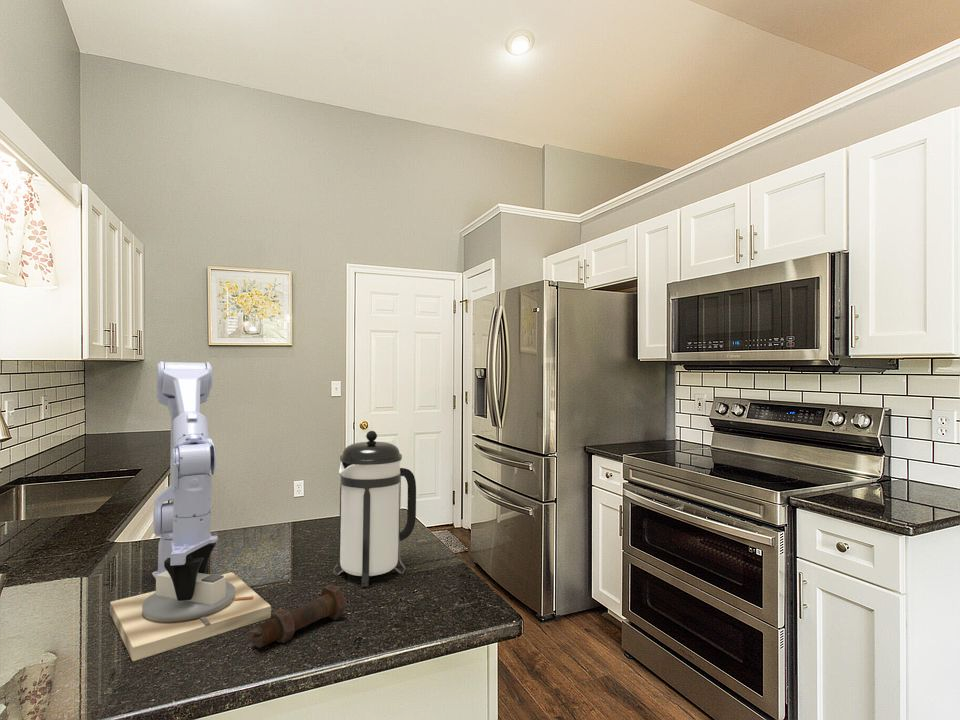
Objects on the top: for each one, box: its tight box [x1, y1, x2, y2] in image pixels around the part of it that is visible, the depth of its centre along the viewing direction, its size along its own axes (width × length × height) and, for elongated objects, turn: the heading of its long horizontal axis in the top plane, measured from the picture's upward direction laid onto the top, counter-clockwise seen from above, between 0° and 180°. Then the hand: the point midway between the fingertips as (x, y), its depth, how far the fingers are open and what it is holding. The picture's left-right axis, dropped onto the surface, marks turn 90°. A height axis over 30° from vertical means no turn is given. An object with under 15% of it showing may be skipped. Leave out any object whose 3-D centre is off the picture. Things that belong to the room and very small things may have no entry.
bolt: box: [250, 584, 346, 649], centre depth 84 cm, size 6×5×15 cm
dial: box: [142, 571, 235, 622], centre depth 89 cm, size 14×14×5 cm
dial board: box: [109, 571, 272, 662], centre depth 89 cm, size 20×20×2 cm
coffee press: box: [332, 430, 417, 588], centre depth 110 cm, size 17×16×30 cm
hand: (190, 592), depth 89 cm, fingers closed on dial, 5 cm apart
